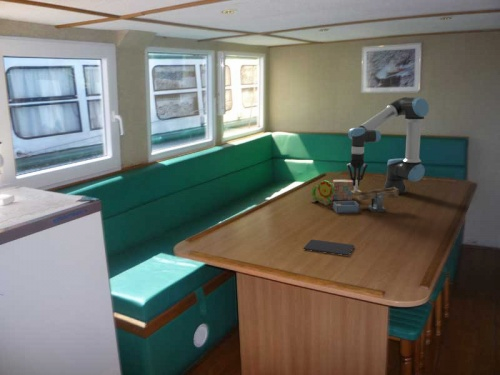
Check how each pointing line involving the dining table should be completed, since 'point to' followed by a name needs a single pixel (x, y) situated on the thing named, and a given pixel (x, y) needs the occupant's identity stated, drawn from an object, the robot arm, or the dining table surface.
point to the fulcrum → (377, 203)
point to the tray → (346, 207)
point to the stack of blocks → (342, 190)
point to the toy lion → (323, 192)
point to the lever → (366, 195)
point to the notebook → (329, 247)
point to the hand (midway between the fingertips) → (355, 190)
